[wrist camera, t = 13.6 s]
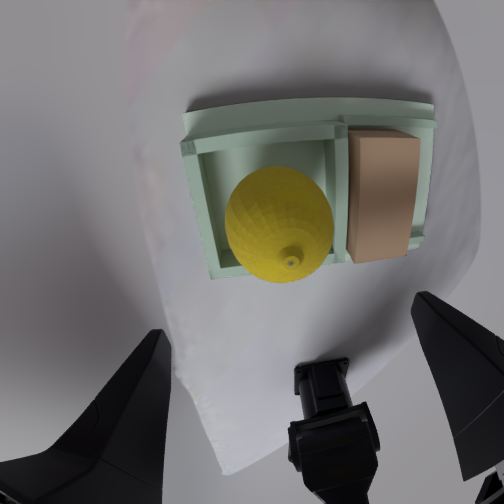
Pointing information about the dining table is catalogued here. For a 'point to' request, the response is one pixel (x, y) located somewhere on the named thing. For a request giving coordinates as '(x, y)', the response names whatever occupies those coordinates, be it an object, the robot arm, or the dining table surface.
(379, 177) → the tan rectangular block
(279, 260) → the lemon
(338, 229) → the tray
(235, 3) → the dining table surface
